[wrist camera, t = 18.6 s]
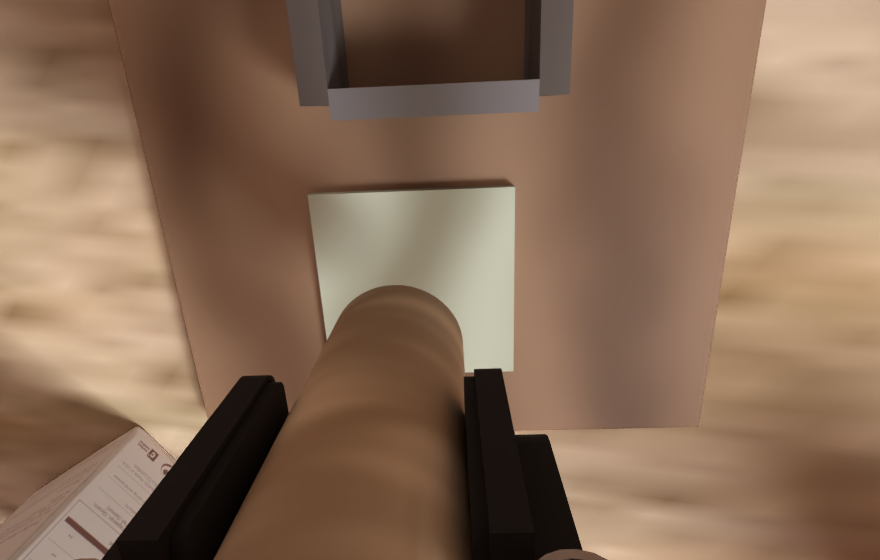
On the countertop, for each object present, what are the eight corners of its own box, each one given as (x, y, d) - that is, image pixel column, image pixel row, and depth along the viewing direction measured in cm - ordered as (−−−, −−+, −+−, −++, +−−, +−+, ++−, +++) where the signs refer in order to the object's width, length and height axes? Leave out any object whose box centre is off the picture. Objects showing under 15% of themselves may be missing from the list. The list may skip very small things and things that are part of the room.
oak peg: (460, 282, 13) (514, 998, 3) (464, 400, 14) (510, 1215, 4) (325, 287, 13) (-154, 995, 3) (340, 403, 14) (50, 1203, 4)
